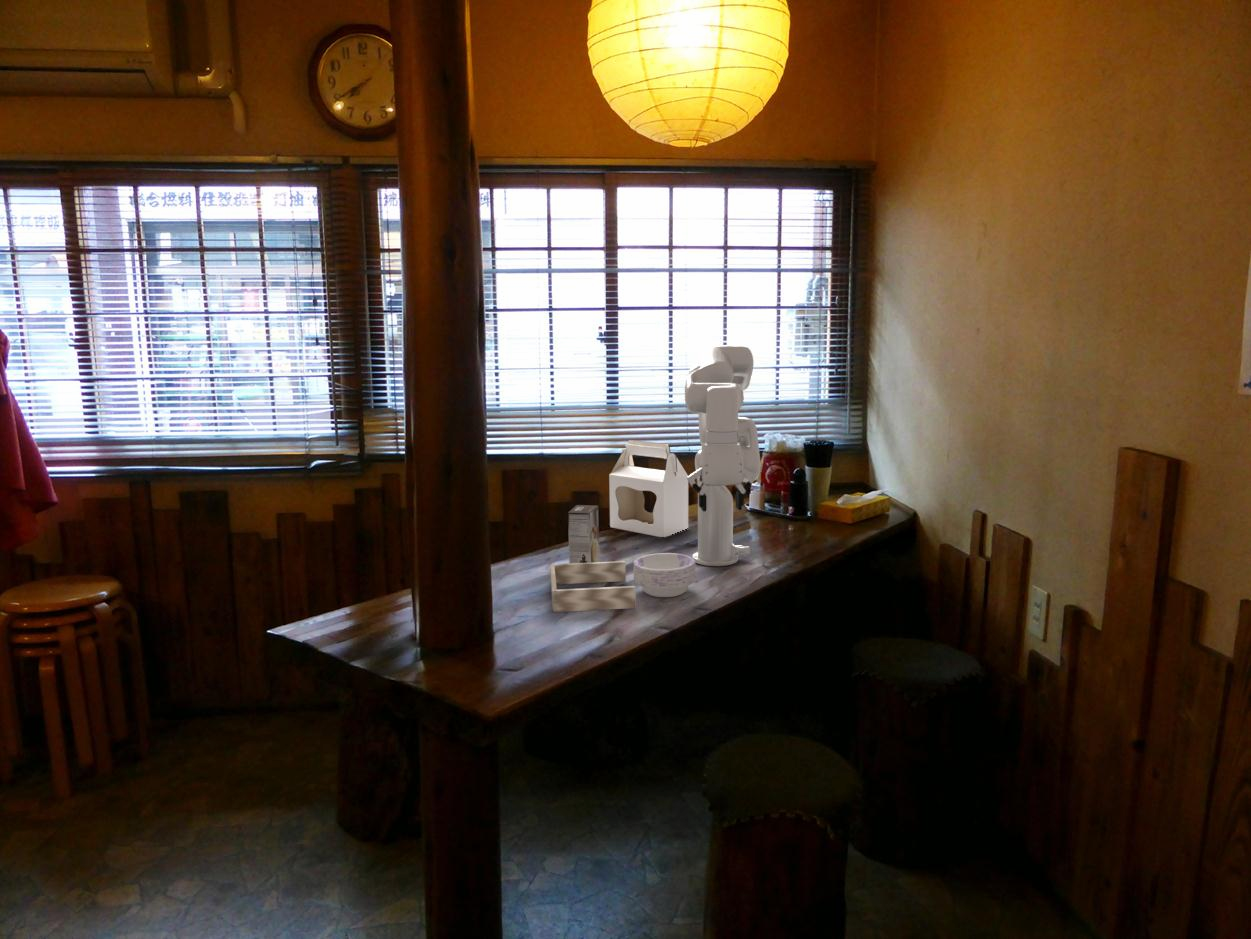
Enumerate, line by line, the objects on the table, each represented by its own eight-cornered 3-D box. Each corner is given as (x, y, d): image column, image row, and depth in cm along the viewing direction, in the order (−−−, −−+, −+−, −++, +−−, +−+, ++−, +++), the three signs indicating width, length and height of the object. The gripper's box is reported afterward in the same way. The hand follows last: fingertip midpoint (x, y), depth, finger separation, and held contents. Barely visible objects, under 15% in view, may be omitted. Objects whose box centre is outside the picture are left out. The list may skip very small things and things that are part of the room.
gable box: (609, 527, 260) (607, 441, 255) (634, 519, 270) (633, 436, 265) (664, 538, 246) (664, 447, 241) (689, 529, 256) (689, 442, 251)
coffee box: (577, 560, 224) (576, 504, 221) (600, 561, 222) (599, 505, 220) (568, 570, 215) (567, 512, 212) (592, 571, 214) (590, 512, 211)
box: (625, 579, 207) (625, 561, 206) (635, 608, 186) (635, 587, 185) (550, 583, 204) (550, 564, 204) (552, 612, 184) (552, 591, 183)
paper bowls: (624, 586, 201) (623, 556, 200) (679, 578, 207) (679, 549, 206) (648, 605, 187) (648, 573, 186) (706, 597, 193) (707, 565, 192)
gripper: (753, 434, 197) (752, 505, 200) (682, 436, 195) (682, 507, 198) (761, 439, 189) (760, 511, 192) (688, 441, 188) (688, 514, 191)
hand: (721, 509), depth 195 cm, fingers open, 8 cm apart
